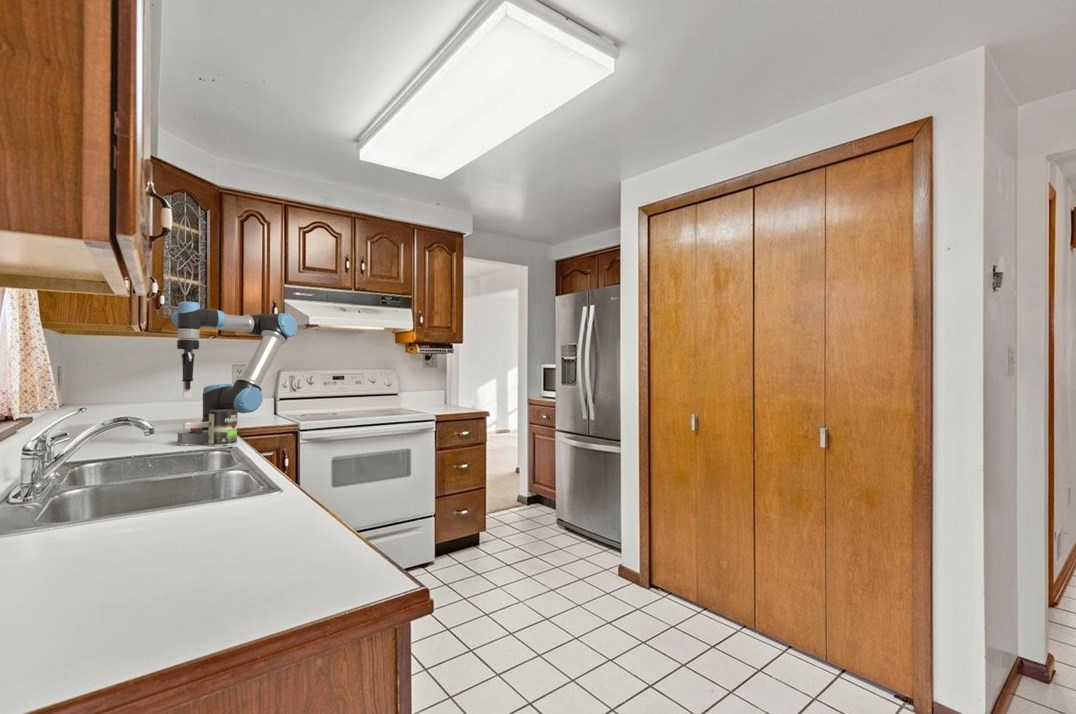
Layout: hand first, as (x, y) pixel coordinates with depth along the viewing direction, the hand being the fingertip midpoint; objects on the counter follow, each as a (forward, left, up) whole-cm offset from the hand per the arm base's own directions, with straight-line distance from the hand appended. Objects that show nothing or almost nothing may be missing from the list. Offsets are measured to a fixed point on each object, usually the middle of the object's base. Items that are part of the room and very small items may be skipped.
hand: (187, 397), depth 214 cm
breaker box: (-3, +4, -19) cm, 20 cm away
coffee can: (+9, +11, -20) cm, 24 cm away
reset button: (-6, +4, -16) cm, 17 cm away
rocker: (0, +4, -12) cm, 12 cm away
